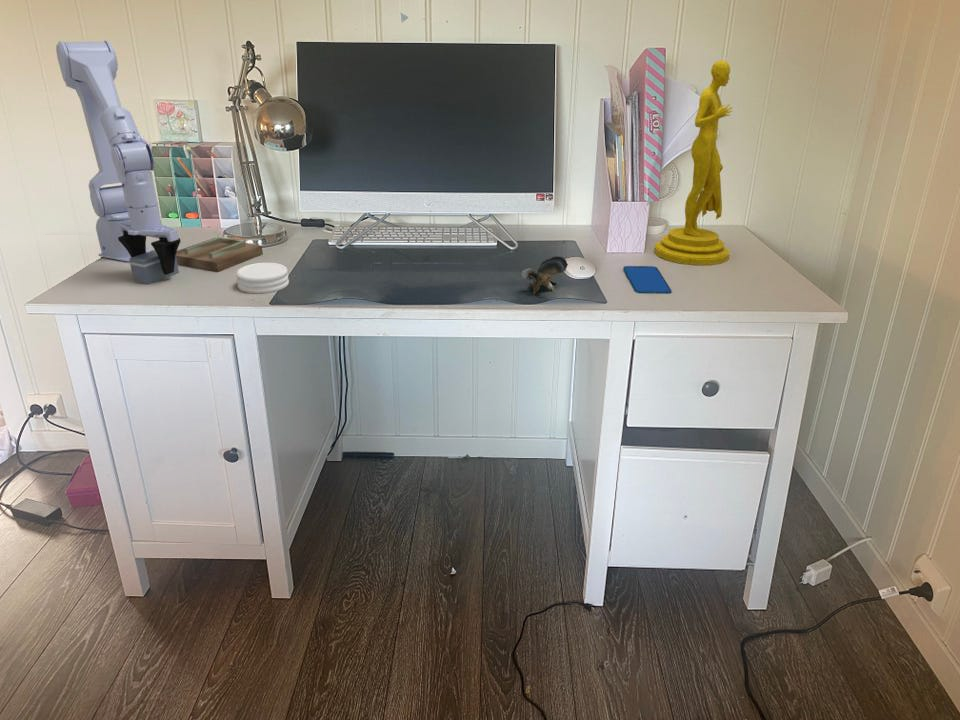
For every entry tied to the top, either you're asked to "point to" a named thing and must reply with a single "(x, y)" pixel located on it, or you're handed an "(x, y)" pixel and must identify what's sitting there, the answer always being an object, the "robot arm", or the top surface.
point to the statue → (702, 185)
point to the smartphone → (646, 279)
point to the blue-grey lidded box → (149, 268)
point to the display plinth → (217, 254)
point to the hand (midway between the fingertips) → (155, 270)
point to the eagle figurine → (545, 272)
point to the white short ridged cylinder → (262, 277)
